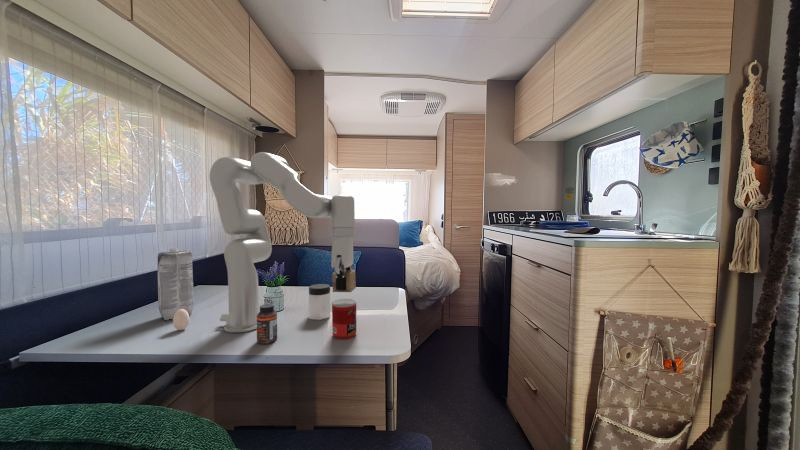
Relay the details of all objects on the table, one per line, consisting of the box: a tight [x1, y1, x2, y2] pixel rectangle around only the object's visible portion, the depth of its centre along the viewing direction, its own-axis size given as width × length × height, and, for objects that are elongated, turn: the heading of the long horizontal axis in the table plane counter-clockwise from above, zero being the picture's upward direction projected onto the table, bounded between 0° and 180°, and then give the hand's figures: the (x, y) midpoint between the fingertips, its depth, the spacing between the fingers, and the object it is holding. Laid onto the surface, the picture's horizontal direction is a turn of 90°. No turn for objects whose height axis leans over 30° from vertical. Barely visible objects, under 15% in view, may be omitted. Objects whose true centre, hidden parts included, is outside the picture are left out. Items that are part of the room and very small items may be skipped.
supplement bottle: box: [256, 303, 278, 345], centre depth 95 cm, size 6×6×11 cm
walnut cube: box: [331, 269, 357, 293], centre depth 99 cm, size 6×6×6 cm
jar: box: [308, 283, 331, 321], centre depth 118 cm, size 9×8×12 cm
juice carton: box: [156, 247, 194, 321], centre depth 119 cm, size 9×10×27 cm
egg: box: [172, 309, 191, 331], centre depth 104 cm, size 5×5×7 cm
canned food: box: [331, 298, 357, 340], centre depth 99 cm, size 8×8×11 cm
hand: (344, 287), depth 99 cm, fingers closed on walnut cube, 6 cm apart
